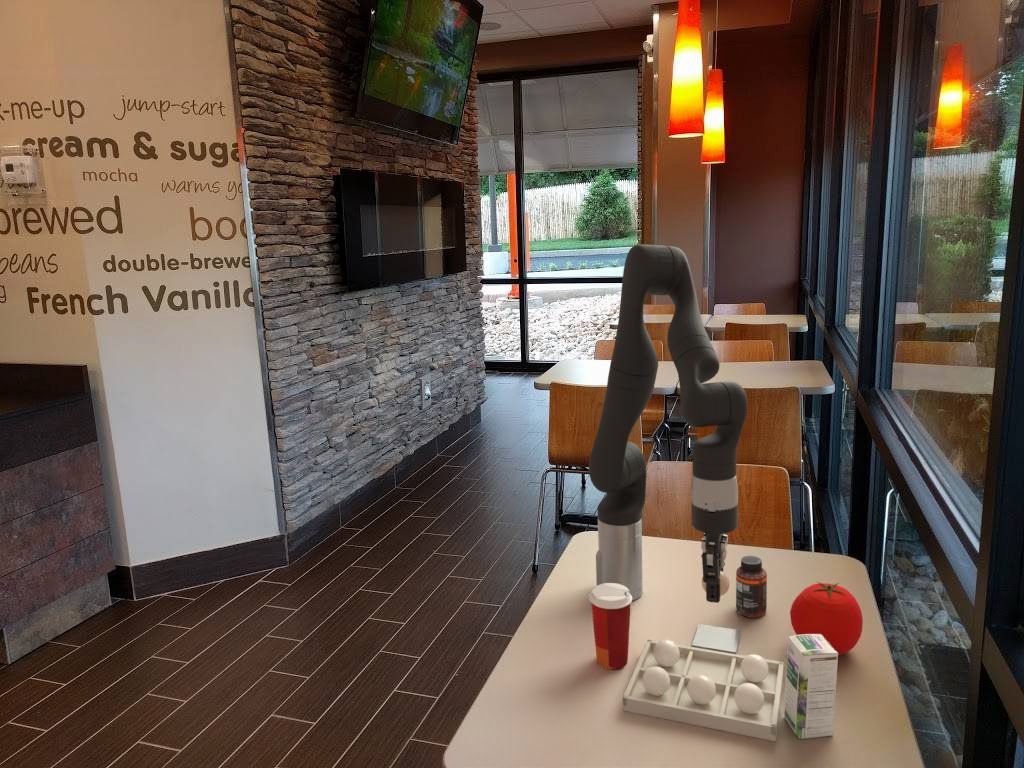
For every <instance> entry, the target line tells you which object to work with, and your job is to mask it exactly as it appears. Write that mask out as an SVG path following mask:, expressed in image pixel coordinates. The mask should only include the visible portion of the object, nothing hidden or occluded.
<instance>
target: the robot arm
mask: <svg viewBox="0 0 1024 768" xmlns="http://www.w3.org/2000/svg"><path fill="white" fill-rule="evenodd" d="M648 295H649V296H669V298H670V299H671V301H672V303H673V305H674V313H673V315H672V317H671V318H672V319H671V320H670V321H671V322H670V323H669V326H668V330H667V335H666V342H667V348H668V352H669V354H670V356H671V359H672V362H673V365H674V367H675V369H676V372H677V375H678V381H679V389H680V390H679V391H680V396H679V398H680V413H681V415H682V418H683V419H684V420H685V422H686V423H688V424H689V426H692V427H694V428H706V427H716V428H715V430H714V431H713V433H711V434H708V435H707V436H704V437H701V438H700V439H697V440H696V441H695V442H694V443H693V445H692V449H691V450H692V451H691V454H692V455H691V456H692V461H691V462H692V477H691V478H692V480H691V484H690V485H691V487H690V490H691V491H690V495H691V496H690V497H691V499H690V500H691V503H690V504H691V525H692V527H693V528H694V529H695V530H696V531H699V532H702V533H703V538H701V545H700V546H701V547H700V549H701V550H702V553H701V561H702V564H701V565H702V578H703V582H704V583H706V592H705V597H706V598H705V599H706V601H707V602H708V603H716V604H718V603H719V602H721V601H720V600H721V596H720V581H721V571H723V572H724V567H725V566H726V562H725V561H726V558H727V554H728V549H727V548H728V542H729V535H727V534H729V533H732V532H733V531H735V530H736V529H737V528H738V525H739V514H738V513H739V508H738V507H739V501H738V500H739V496H738V495H739V487H738V481H737V480H738V479H737V451H738V446H739V442H740V438H741V435H742V432H743V428H744V425H745V421H746V418H747V414H748V410H749V409H748V407H749V404H748V402H749V401H748V396H747V393H746V391H745V389H744V388H743V386H742V385H741V384H740V383H739V382H736V381H732V380H727V381H726V380H725V381H717V382H709V381H710V380H712V379H713V378H715V377H716V375H717V374H718V373H719V371H720V361H719V358H718V356H717V353H716V351H715V349H714V347H713V344H712V341H711V340H710V337H709V334H708V333H707V330H706V328H705V325H704V322H703V318H702V315H701V311H700V305H699V302H698V296H697V292H696V288H695V284H694V279H693V275H692V271H691V266H690V263H689V260H688V258H687V256H686V254H685V252H684V251H683V250H682V249H680V248H679V247H677V246H673V245H671V246H670V245H658V244H635V245H633V246H632V247H631V248H630V249H629V250H628V252H627V255H626V257H625V262H624V266H623V271H622V280H621V292H620V303H619V304H620V305H619V313H618V322H617V327H616V335H615V340H614V346H613V351H612V355H611V359H610V365H609V369H608V375H607V376H608V377H607V385H606V390H605V395H604V401H603V405H602V411H601V414H600V415H601V416H600V421H599V423H598V429H597V432H596V435H595V438H594V442H593V445H592V449H591V453H590V455H589V460H588V461H589V462H588V475H589V478H590V481H591V484H592V485H593V487H594V488H595V489H596V490H597V491H599V492H600V493H604V494H605V496H604V497H603V498H602V500H601V501H599V503H598V505H597V535H598V536H597V537H598V538H597V541H598V542H597V543H598V545H597V546H598V549H597V552H596V553H595V573H596V574H595V575H596V577H595V578H596V586H598V585H600V584H604V583H617V584H621V585H623V586H625V587H627V588H628V589H629V591H630V594H631V596H632V602H633V601H635V600H637V599H639V598H641V597H642V595H643V593H644V592H643V586H644V585H643V583H644V582H643V536H642V534H643V533H642V528H643V526H642V521H643V520H642V516H643V515H642V514H643V509H644V507H645V504H646V496H647V493H646V491H647V463H646V458H645V455H644V453H643V451H642V450H641V448H640V447H639V446H638V445H637V444H636V443H634V442H633V441H632V442H631V441H629V439H630V436H631V434H632V430H633V429H634V427H635V425H636V424H637V422H638V420H639V419H640V417H641V416H642V414H643V413H644V411H645V409H646V407H647V406H648V404H649V402H650V400H651V398H652V395H653V393H654V389H655V384H656V380H657V373H658V368H659V358H658V354H657V351H656V348H655V346H654V344H653V341H652V339H651V337H650V335H649V332H648V330H647V329H648V328H647V327H646V325H645V320H644V319H645V318H644V307H645V298H646V296H648ZM707 382H708V383H707ZM709 573H714V574H715V575H712V574H709Z"/></svg>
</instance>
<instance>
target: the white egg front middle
mask: <svg viewBox="0 0 1024 768" xmlns="http://www.w3.org/2000/svg"><path fill="white" fill-rule="evenodd" d="M687 691H688V694H689V696H690V698H691V699H692V700H693V701H694V702H695V703H697V704H701V705H705V704H708V703H710V702H711V701H712V700H713V699H714V698H715V695H716V687H715V684H714V682H713V681H712V680H711V679H710V678H709V677H708V676H705V675H696V676H694V677H692V678H691V679H690V681H689V682H688V686H687Z"/></svg>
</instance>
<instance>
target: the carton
mask: <svg viewBox="0 0 1024 768" xmlns="http://www.w3.org/2000/svg"><path fill="white" fill-rule="evenodd" d="M658 642H659V640H652V639H647V640H646V642H645V645H644V647H643V650H642V652H641V654H640V657H639V659H638V661H637V663H636V666H635V668H634V671H633V673H632V676H631V678H630V680H629V682H628V685H627V687H626V689H625V691H624V694H623V696H622V710H623V711H624V712H629V713H634V714H639V715H643V716H648V717H649V716H650V717H654V718H659V719H663V720H664V719H665V720H670V721H672V722H673V721H674V722H678V723H684V724H689V725H694V726H698V727H704V728H708V729H712V730H717V731H724V732H728V733H733V734H736V735H743V736H747V737H753V738H756V739H757V738H758V739H760V740H761V739H762V740H767V741H771V742H772V741H773V742H777V736H778V727H779V718H780V708H781V700H782V690H783V685H784V684H783V683H784V673H785V672H784V671H785V668H784V667H785V662H783V661H779V660H772V659H767V658H764V659H765V661H766V662H767V664H768V668H769V672H768V675H767V677H766V678H765V680H763V681H762V682H758V683H754V682H750V681H748V680H747V679H746V678H745V677H744V676H743V675H742V672H741V668H740V666H741V662H742V660H743V658H744V657H746V656H747V655H742V654H737V653H736V654H731V653H725V652H719V651H713V650H707V649H701V648H695V647H692V646H688V645H682V644H677V643H675V644H676V645H677V646H678V648H679V651H680V657H679V660H678V662H677V663H676V664H675V665H673V666H671V667H664V666H661V665H660V664H659V663H658V662H657V661H656V660H655V658H654V647H655V645H656V644H657V643H658ZM696 675H705V676H708V677H709V678H710V679H711V680H712V681H713V682H714V684H715V687H716V695H715V698H714V699H713V700H712V701H711V702H710V703H708V704H705V705H701V704H697V703H695V702H694V701H693V700H692V699H691V698H690V696H689V694H688V691H687V686H688V682H689V681H690V679H691V678H692V677H694V676H696Z"/></svg>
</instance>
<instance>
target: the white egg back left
mask: <svg viewBox="0 0 1024 768" xmlns="http://www.w3.org/2000/svg"><path fill="white" fill-rule="evenodd" d="M658 641H659V640H658ZM676 644H677V643H676V642H674V641H673V640H670V639H661V640H660V641H659V642H658V643H657V644H656V645H655V647H654V658H655V660H656V661H657V662H658V663H659V664H660V665H661V666H664V667H671V666H673V665H675V664H676V663H677V662H678V660H679V657H680V651H679V648H678V646H677V645H678V644H677V645H676Z"/></svg>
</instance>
